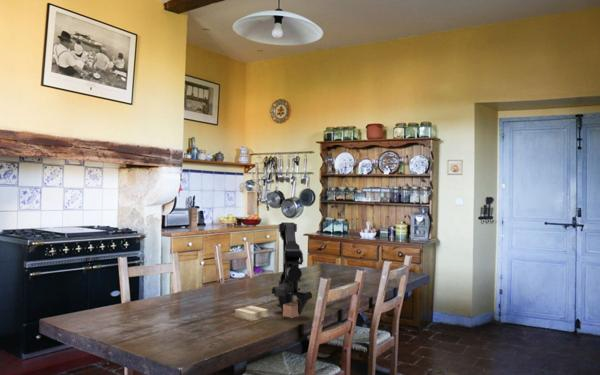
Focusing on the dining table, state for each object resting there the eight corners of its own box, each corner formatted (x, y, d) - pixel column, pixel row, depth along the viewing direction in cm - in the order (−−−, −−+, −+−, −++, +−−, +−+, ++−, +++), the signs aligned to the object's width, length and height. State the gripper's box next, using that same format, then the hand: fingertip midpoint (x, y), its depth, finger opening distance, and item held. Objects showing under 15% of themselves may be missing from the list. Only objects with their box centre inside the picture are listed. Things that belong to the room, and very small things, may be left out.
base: (251, 312, 213) (251, 305, 213) (268, 316, 207) (268, 309, 207) (235, 316, 205) (235, 309, 205) (251, 321, 199) (251, 313, 199)
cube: (290, 313, 213) (290, 302, 213) (299, 315, 209) (299, 304, 210) (282, 316, 209) (283, 304, 209) (291, 318, 206) (291, 306, 206)
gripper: (263, 275, 209) (262, 312, 209) (296, 281, 197) (295, 320, 197) (280, 272, 218) (279, 307, 218) (313, 278, 206) (312, 315, 206)
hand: (291, 312), depth 209 cm, fingers open, 9 cm apart
